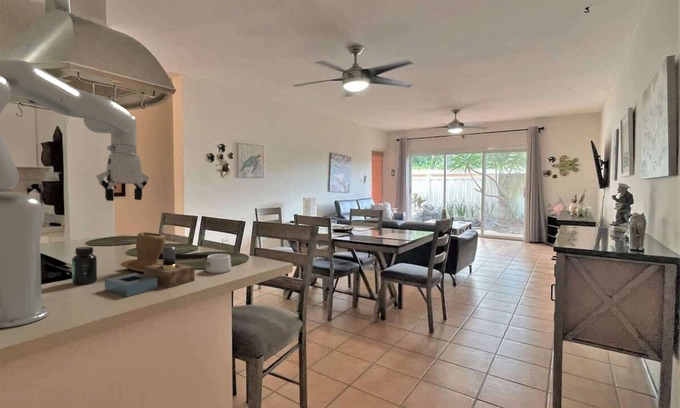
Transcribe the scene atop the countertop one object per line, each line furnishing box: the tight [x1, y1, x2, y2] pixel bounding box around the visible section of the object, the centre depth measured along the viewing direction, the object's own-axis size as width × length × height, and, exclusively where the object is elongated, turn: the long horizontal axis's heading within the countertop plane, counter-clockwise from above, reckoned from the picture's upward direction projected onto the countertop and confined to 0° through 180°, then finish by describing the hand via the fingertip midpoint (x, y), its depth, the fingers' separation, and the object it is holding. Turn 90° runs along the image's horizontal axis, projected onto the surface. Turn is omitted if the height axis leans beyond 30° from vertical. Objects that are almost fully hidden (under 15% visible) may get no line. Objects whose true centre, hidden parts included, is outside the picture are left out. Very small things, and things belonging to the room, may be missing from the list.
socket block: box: [104, 272, 158, 298], centre depth 115 cm, size 10×12×4 cm
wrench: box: [158, 252, 212, 261], centre depth 156 cm, size 5×5×30 cm
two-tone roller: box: [162, 245, 176, 269], centre depth 125 cm, size 4×4×12 cm
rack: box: [143, 262, 196, 288], centre depth 126 cm, size 10×14×5 cm
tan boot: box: [120, 231, 166, 273], centre depth 139 cm, size 15×12×15 cm
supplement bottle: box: [71, 246, 98, 286], centre depth 120 cm, size 7×7×12 cm
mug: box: [205, 253, 232, 274], centre depth 142 cm, size 12×10×6 cm
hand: (124, 200), depth 123 cm, fingers open, 9 cm apart
